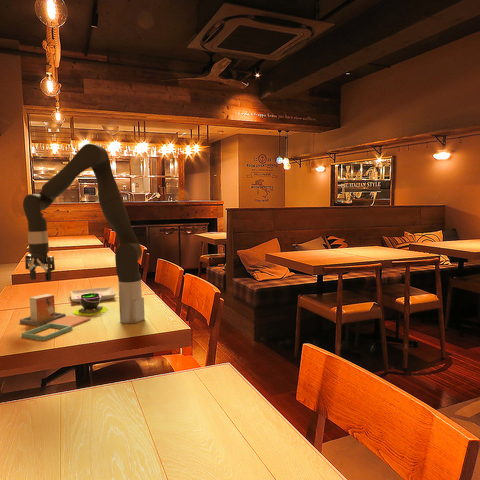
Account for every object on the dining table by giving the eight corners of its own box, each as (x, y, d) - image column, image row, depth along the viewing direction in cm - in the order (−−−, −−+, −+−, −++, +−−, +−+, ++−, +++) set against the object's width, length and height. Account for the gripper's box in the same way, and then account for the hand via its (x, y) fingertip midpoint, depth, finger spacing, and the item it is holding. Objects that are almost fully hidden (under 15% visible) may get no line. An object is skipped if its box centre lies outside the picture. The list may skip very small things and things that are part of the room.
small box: (37, 323, 167) (35, 298, 166) (30, 321, 170) (29, 297, 169) (55, 319, 173) (54, 295, 172) (49, 316, 177) (47, 293, 175)
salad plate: (70, 296, 215) (69, 290, 214) (111, 292, 224) (111, 286, 223) (71, 305, 196) (71, 298, 195) (116, 300, 205) (116, 294, 204)
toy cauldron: (96, 316, 176) (95, 292, 175) (66, 315, 179) (64, 290, 178) (113, 307, 191) (112, 284, 190) (85, 306, 194) (84, 283, 193)
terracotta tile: (90, 319, 171) (90, 318, 171) (68, 328, 160) (68, 326, 160) (69, 316, 176) (69, 315, 176) (46, 324, 165) (46, 323, 165)
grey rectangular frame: (65, 317, 176) (65, 313, 175) (39, 326, 163) (39, 322, 163) (46, 314, 180) (46, 311, 180) (19, 323, 168) (19, 319, 168)
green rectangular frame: (72, 329, 158) (72, 326, 158) (44, 340, 146) (43, 336, 146) (51, 326, 163) (50, 322, 163) (21, 337, 151) (21, 333, 150)
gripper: (58, 241, 169) (60, 279, 171) (33, 240, 174) (36, 277, 176) (43, 243, 162) (45, 283, 164) (18, 242, 168) (20, 280, 169)
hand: (40, 280), depth 170 cm, fingers open, 8 cm apart
